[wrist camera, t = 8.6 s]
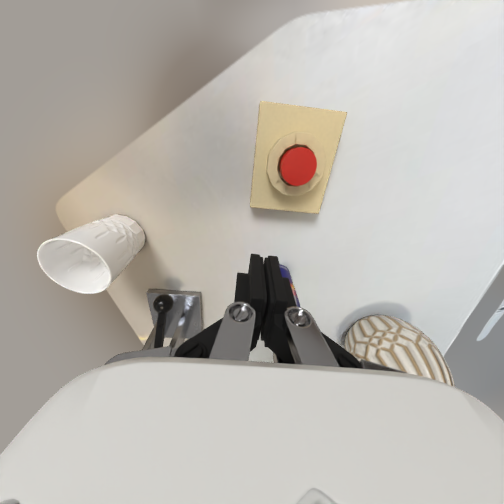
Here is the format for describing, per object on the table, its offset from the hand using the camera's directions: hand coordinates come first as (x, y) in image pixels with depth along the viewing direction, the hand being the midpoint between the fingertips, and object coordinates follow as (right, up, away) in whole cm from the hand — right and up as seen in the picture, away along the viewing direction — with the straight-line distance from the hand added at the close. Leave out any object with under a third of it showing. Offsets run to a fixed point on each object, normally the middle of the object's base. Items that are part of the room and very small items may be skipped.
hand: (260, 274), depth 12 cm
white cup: (-21, +4, +19) cm, 29 cm away
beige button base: (+5, +14, +14) cm, 20 cm away
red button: (+5, +12, +11) cm, 17 cm away
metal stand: (-16, -12, +28) cm, 34 cm away
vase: (+26, -16, +31) cm, 44 cm away
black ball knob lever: (-16, -12, +20) cm, 29 cm away
